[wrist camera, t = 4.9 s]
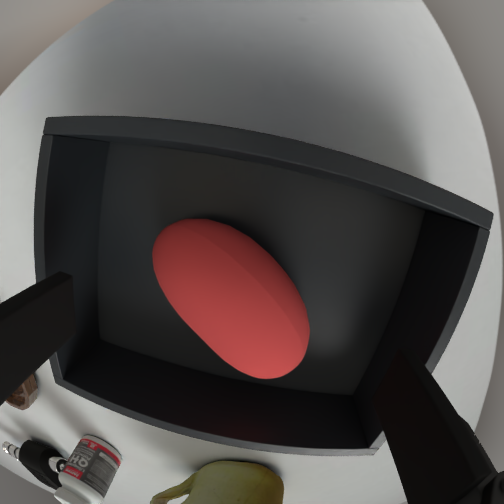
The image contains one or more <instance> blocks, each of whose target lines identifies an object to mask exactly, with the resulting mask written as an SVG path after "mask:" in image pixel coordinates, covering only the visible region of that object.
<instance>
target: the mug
mask: <svg viewBox="0 0 504 504" xmlns="http://www.w3.org/2000/svg"><path fill="white" fill-rule="evenodd" d="M186 494H189V496H188V497H187V499H186V500H185V501H184V502H183V503H181V504H282V503H283V494H284V485H283V481H282V479H281V478H280V477H279V476H278V475H276V474H275V473H274V472H272V471H271V470H269V469H268V468H266V467H265V466H262V465H260V464H257V463H248V462H233V461H217V462H214V463H210V464H207V465H205V466H204V467H202V468H201V469H200V470H199V471H198V472H196V473H194V474H192V475H191V476H190V477H189V478H188V479H187V480H185V481H184V482H183V483H181V484H180V485H177V486H174V487H172V488H169V489H167V490H165V491H163V492H161V493H158V494H156V495H155V496H153V498H152V500H151V501H150V504H167V502H168V501H169V500H172V499H175V498H179V497H181V496H183V495H186Z"/></svg>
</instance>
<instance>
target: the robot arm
mask: <svg viewBox="0 0 504 504" xmlns="http://www.w3.org/2000/svg"><path fill="white" fill-rule="evenodd" d="M76 333H77V329H76V319H75V307H74V291H73V275H70V274H67V273H64V272H61V271H59V272H57V273H55V274H53V275H51V276H49V277H47V278H45V279H43V280H42V281H40V282H38V283H36V284H34V285H32V286H30V287H29V288H27V289H25V290H23V291H21V292H20V293H18V294H16V295H14V296H13V297H11V298H9V299H7V300H6V301H4V302H2V303H1V304H0V406H1V405H2V404H3V403H4V402H5V401H6V400H7V399H8V398H9V397H10V396H11V395H12V394H13V393H14V392H15V391H16V390H17V389H18V388H19V387H20V386H21V385H22V384H23V383H24V382H25V381H26V380H27V379H28V378H29V377H30V376H31V375H32V374H33V373H34V372H35V371H36V370H37V369H38V368H39V367H40V366H41V365H42V364H43V363H44V362H45V361H47V360H48V359H49V358H50V357H51V356H52V355H53V354H54V353H55V352H56V351H57V350H58V349H60V348H61V347H62V346H63V345H64V344H65V343H66V342H67V341H68V340H69V339H71V338H72V337H73V336H74V335H75V334H76ZM371 400H372V402H373V405H374V408H375V410H376V413H377V415H378V418H379V421H380V423H381V426H382V429H383V431H384V434H385V437H386V439H387V442H388V445H389V448H390V450H391V453H392V456H393V459H394V462H395V465H396V468H397V471H398V474H399V477H400V480H401V483H402V486H403V489H404V492H405V495H406V498H407V502H408V504H504V471H502V472H500V473H498V472H497V471H496V469H495V468H494V466H493V464H492V462H491V460H490V459H489V457H488V455H487V453H486V452H485V450H484V448H483V447H482V445H481V443H480V444H479V440H478V439H477V437H476V435H475V436H474V434H475V433H474V432H473V430H472V429H471V427H470V425H469V424H468V423H467V422H466V421H465V420H464V419H463V418H462V417H460V416H459V415H458V413H457V412H456V410H455V409H454V407H453V406H452V404H451V403H450V401H449V400H448V398H447V397H446V395H445V394H444V392H443V391H442V389H441V388H440V386H439V385H438V383H437V382H436V381H435V379H434V378H433V376H432V375H431V373H430V372H429V371H428V369H427V368H426V366H425V365H424V364H423V362H422V361H421V359H420V358H419V357H418V355H417V354H416V353H415V351H414V350H413V349H403V348H398V350H397V352H396V354H395V356H394V358H393V360H392V362H391V364H390V366H389V368H388V370H387V372H386V374H385V376H384V377H383V379H382V381H381V383H380V385H379V386H378V388H377V390H376V392H375V393H374V395H373V397H372V398H371Z"/></svg>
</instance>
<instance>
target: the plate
mask: <svg viewBox="0 0 504 504" xmlns="http://www.w3.org/2000/svg"><path fill="white" fill-rule="evenodd" d="M37 389H38V387H37V384H36V381H35V378H34V375H33V374H32V375H31V376H30V377H29V378H28V379H27V380H26V381H25V382H24V383H23V384H22V385H21V386H20V387H19V388H18V389H17V390H16V391H15V392H14V393H13V394H12V395H11V396H10V397H9V398H8V399H7V400H6V402H7V403H8V404H10V405H11V406H13V407H15V408H18V409H20V410H24V409H27V408H29V407H30V406H31V405H32V403H33V402H34V401H35V400H36V399H37Z"/></svg>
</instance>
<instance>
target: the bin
mask: <svg viewBox="0 0 504 504" xmlns="http://www.w3.org/2000/svg"><path fill="white" fill-rule="evenodd" d="M43 134H44V135H42V140H41V146H40V153H39V160H38V168H37V177H36V188H35V204H34V258H35V273H36V283H38V282H40V281H42V280H43V279H45V278H47V277H49V276H51V275H53V274H55V273H57V272H59V271H61V272H64V273H67V274H70V275H73V291H74V307H75V319H76V329H77V333H76V334H75V335H74V336H73V337H72V338H71V339H69V340H68V341H67V342H66V343H65V344H64V345H63V346H62V347H61V348H60V349H58V350H57V351H56V352H55V353H54V354H53V355H52V356H51V357H50V358H49V360H50V364H51V368H52V372H53V376H54V379H55V383H56V384H58V385H60V386H62V387H64V388H66V389H67V390H69V391H71V392H73V393H75V394H77V395H79V396H81V397H83V398H85V399H87V400H90V401H92V402H94V403H96V404H98V405H101V406H103V407H105V408H107V409H110V410H112V411H115V412H117V413H120V414H122V415H125V416H127V417H130V418H132V419H135V420H138V421H141V422H143V423H146V424H149V425H152V426H155V427H158V428H162V429H165V430H168V431H171V432H175V433H178V434H182V435H185V436H189V437H193V438H197V439H201V440H205V441H210V442H214V443H219V444H224V445H229V446H234V447H240V448H246V449H252V450H259V451H267V452H275V453H285V454H297V455H314V456H363V455H374V454H375V452H376V451H377V450H378V449H379V447H381V445H382V444H383V443H384V442H385V440H386V437H385V434H384V431H383V429H382V426H381V423H380V421H379V418H378V415H377V413H376V410H375V408H374V405H373V402H372V400H371V398H372V397H373V395H374V393H375V392H376V390H377V388H378V386H379V385H380V383H381V381H382V379H383V377H384V376H385V374H386V372H387V370H388V368H389V366H390V364H391V362H392V360H393V358H394V356H395V354H396V352H397V350H398V348H403V349H413V350H414V351H415V353H416V354H417V355H418V357H419V358H420V359H421V361H422V362H423V364H424V365H425V366H426V368H427V369H428V371H429V372H430V373H431V374H432V372H433V371H434V369H435V367H436V365H437V364H438V362H439V360H440V358H441V356H442V354H443V353H444V351H445V349H446V347H447V345H448V343H449V341H450V339H451V337H452V335H453V333H454V331H455V328H456V326H457V324H458V322H459V320H460V317H461V315H462V313H463V311H464V308H465V306H466V303H467V301H468V298H469V296H470V293H471V291H472V288H473V285H474V282H475V280H476V277H477V274H478V271H479V268H480V265H481V262H482V259H483V255H484V252H485V248H486V245H487V241H488V238H489V234H490V231H489V230H490V228H491V224H492V220H493V215H494V214H493V213H492V212H490V211H489V210H487V209H485V208H483V207H481V206H479V205H477V204H475V203H473V202H471V201H469V200H467V199H465V198H462V197H460V196H458V195H456V194H454V193H452V192H449V191H447V190H445V189H443V188H440V187H438V186H436V185H433V184H431V183H428V182H426V181H424V180H421V179H419V178H416V177H413V176H411V175H408V174H406V173H403V172H400V171H398V170H395V169H392V168H389V167H386V166H384V165H381V164H378V163H375V162H372V161H369V160H366V159H363V158H359V157H356V156H353V155H350V154H346V153H343V152H340V151H336V150H332V149H329V148H325V147H322V146H318V145H314V144H310V143H306V142H302V141H298V140H294V139H289V138H285V137H280V136H276V135H271V134H266V133H261V132H256V131H251V130H245V129H239V128H233V127H227V126H221V125H214V124H207V123H199V122H191V121H182V120H172V119H161V118H147V117H129V116H62V117H48V118H46V121H45V126H44V131H43ZM183 219H209V220H212V221H216V222H219V223H222V224H226V225H229V226H231V227H233V228H235V229H236V230H238V231H240V232H242V233H243V234H245V235H247V236H249V237H250V238H251V239H253V240H254V241H255V242H256V243H257V244H259V245H260V246H261V247H262V248H263V249H264V250H266V251H267V252H268V253H269V254H270V255H271V256H272V257H273V258H274V259H275V260H276V261H277V263H278V264H279V265H280V266H281V267H282V268H283V270H284V271H285V272H286V273H287V275H288V276H289V277H290V279H291V280H292V282H293V283H294V285H295V286H296V288H297V290H298V292H299V294H300V296H301V298H302V300H303V302H304V304H305V307H306V310H307V316H308V321H309V327H310V336H309V341H308V346H307V350H306V353H305V355H304V357H303V359H302V361H301V362H300V363H299V365H298V366H297V367H295V368H294V369H293V370H292V371H290V372H289V373H287V374H285V375H283V376H281V377H277V378H270V379H262V378H256V377H252V376H250V375H247V374H245V373H243V372H241V371H239V370H237V369H236V368H234V367H233V366H231V365H230V364H229V363H227V362H226V361H224V360H223V359H222V358H221V357H220V356H219V355H218V354H217V353H215V352H214V351H213V350H212V349H211V348H210V347H209V346H208V345H207V344H206V343H205V342H204V341H203V340H202V339H201V338H200V337H199V336H198V335H197V334H196V333H195V332H194V331H193V330H192V329H191V328H190V327H189V325H188V324H187V323H186V322H185V321H184V320H183V319H182V318H181V317H180V316H179V314H178V313H177V312H176V311H175V309H174V308H173V307H172V305H171V304H170V303H169V301H168V299H167V297H166V296H165V294H164V292H163V290H162V289H161V287H160V285H159V282H158V280H157V277H156V274H155V271H154V267H153V258H152V251H153V246H154V243H155V240H156V238H157V237H158V235H159V234H160V232H161V231H162V230H163V229H164V228H165V227H167V226H168V225H170V224H173V223H175V222H178V221H180V220H183Z"/></svg>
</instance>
